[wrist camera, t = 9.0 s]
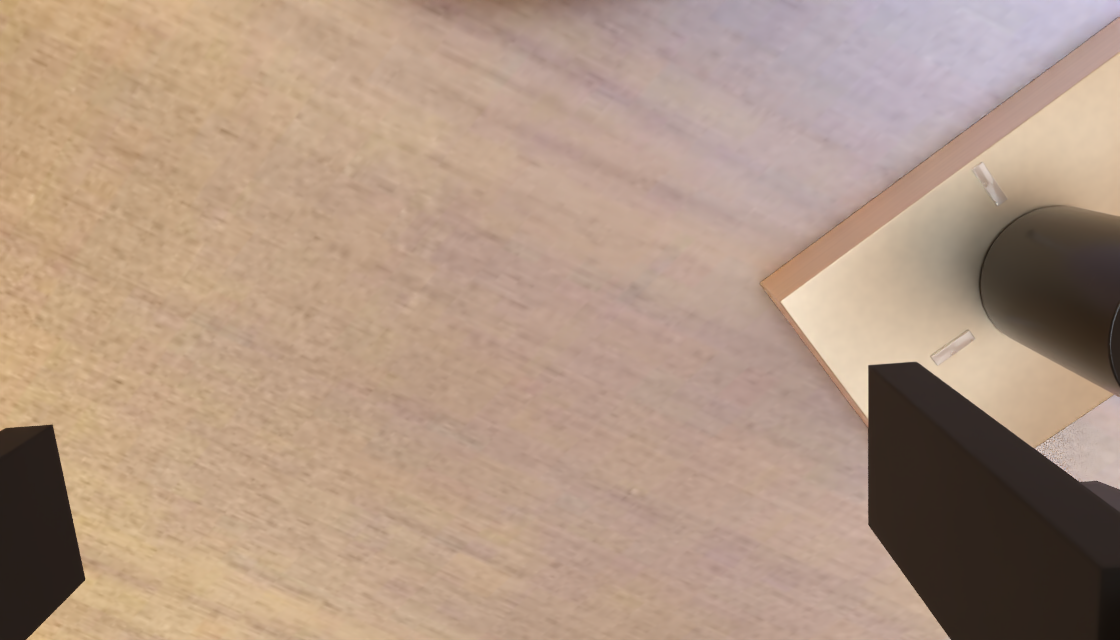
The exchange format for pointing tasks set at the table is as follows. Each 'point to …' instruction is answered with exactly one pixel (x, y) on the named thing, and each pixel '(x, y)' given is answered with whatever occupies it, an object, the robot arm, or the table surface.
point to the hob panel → (965, 250)
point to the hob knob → (1060, 289)
